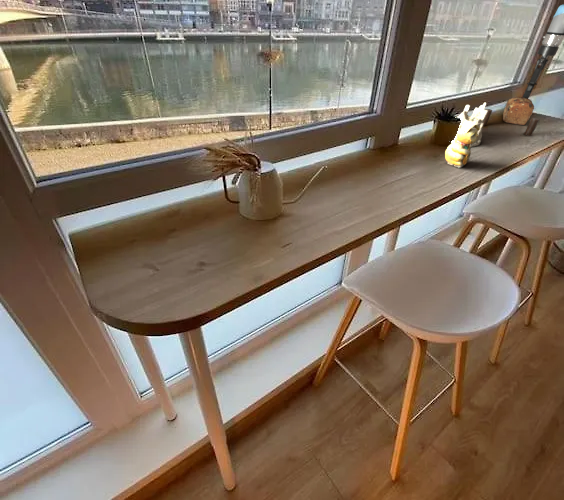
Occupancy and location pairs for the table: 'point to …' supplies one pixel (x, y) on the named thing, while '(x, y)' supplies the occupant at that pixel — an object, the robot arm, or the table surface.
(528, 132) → the dark brown pieces
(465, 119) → the white pronged sculpture
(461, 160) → the decorative figurine
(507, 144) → the table surface
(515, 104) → the bread
